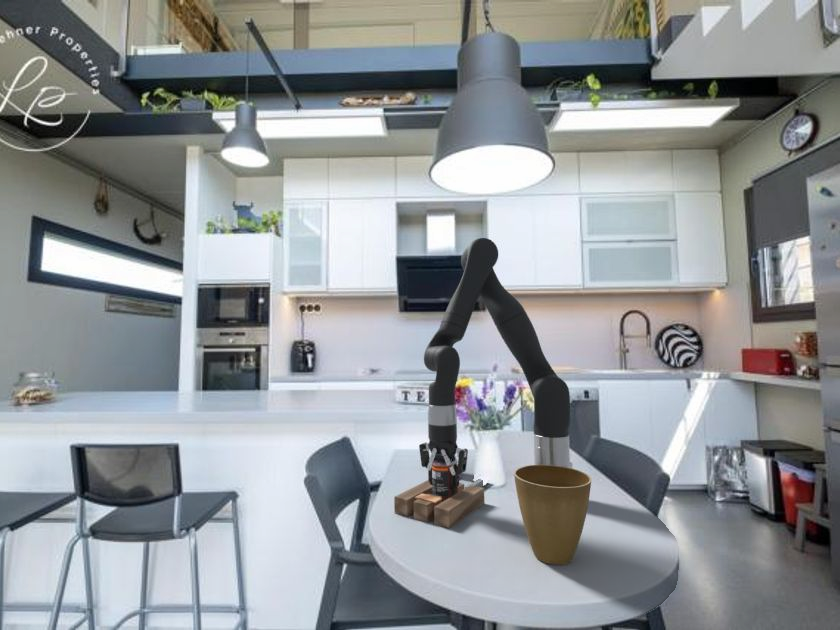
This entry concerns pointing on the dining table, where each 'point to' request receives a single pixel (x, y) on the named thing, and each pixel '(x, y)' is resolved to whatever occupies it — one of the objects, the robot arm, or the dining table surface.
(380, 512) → the dining table surface
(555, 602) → the dining table surface
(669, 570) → the dining table surface
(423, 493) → the socket board
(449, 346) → the robot arm
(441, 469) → the supplement bottle
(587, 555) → the dining table surface
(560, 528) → the plant pot
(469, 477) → the cradle
